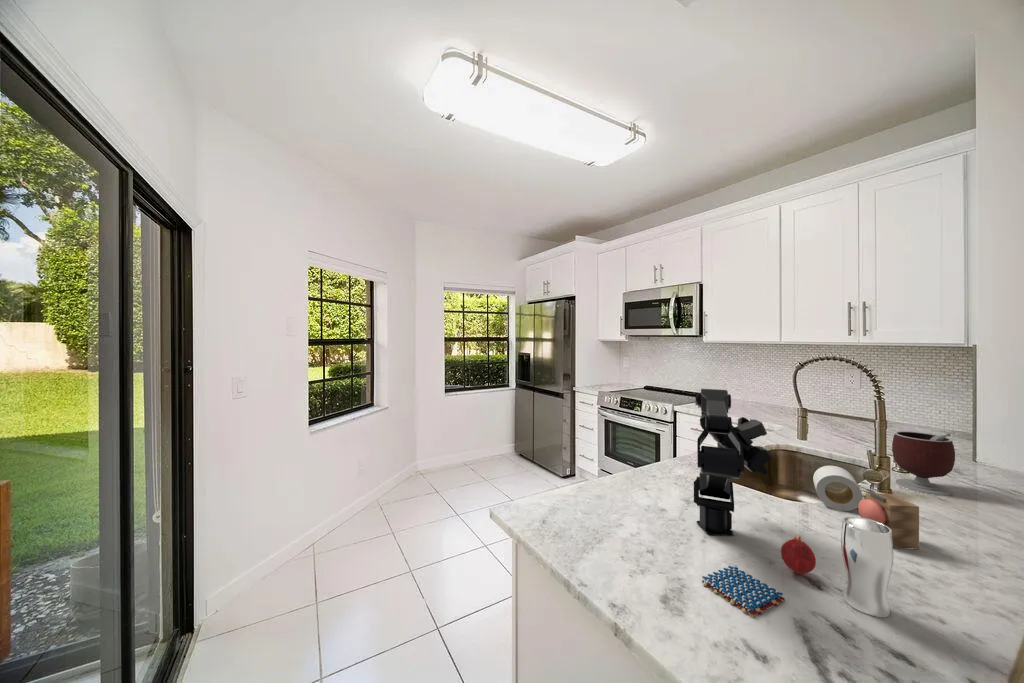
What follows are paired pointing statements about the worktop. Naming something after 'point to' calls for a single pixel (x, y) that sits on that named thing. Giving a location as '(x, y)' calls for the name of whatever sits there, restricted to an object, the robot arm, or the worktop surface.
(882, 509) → the knob
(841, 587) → the worktop surface
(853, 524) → the beer glass
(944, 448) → the mate gourd
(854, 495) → the toilet paper
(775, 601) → the woven mat
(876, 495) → the catch block
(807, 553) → the onion
